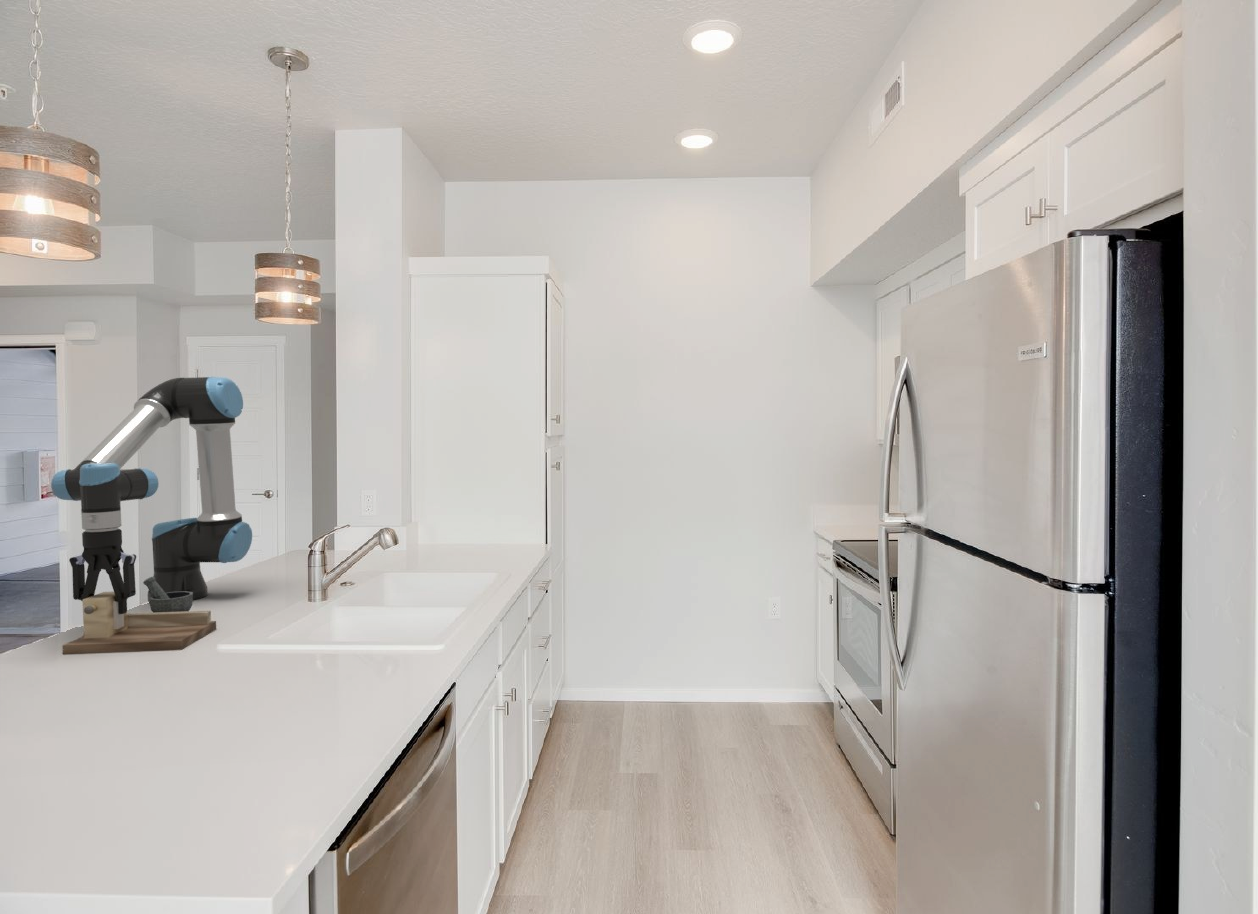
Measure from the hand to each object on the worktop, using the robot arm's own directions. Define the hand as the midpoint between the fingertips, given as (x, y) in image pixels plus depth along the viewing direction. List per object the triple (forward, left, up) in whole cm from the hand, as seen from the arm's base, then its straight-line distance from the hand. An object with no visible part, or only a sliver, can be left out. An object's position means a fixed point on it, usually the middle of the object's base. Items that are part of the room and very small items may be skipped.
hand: (106, 628), depth 172 cm
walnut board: (+1, +9, -3) cm, 9 cm away
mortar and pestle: (-17, +6, -3) cm, 18 cm away
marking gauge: (0, 0, -1) cm, 1 cm away
